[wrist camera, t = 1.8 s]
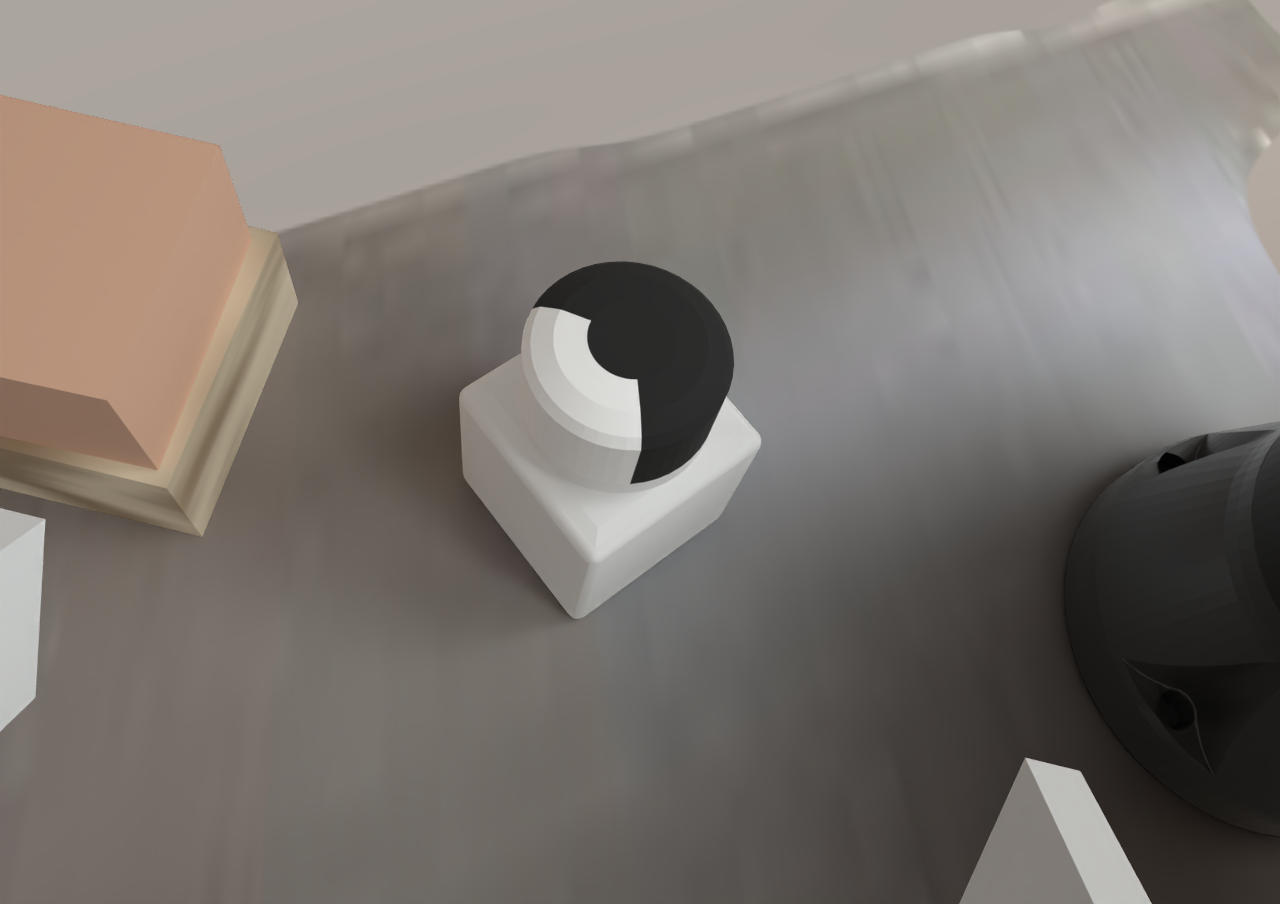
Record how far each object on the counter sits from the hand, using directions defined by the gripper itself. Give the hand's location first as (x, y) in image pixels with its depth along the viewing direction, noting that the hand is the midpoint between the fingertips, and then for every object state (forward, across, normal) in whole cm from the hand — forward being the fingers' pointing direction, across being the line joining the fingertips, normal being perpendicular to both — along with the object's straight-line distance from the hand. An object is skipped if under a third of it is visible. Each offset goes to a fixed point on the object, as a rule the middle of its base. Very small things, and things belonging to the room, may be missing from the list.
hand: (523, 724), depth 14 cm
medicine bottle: (+25, 0, -8) cm, 26 cm away
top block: (+22, -18, -4) cm, 28 cm away
